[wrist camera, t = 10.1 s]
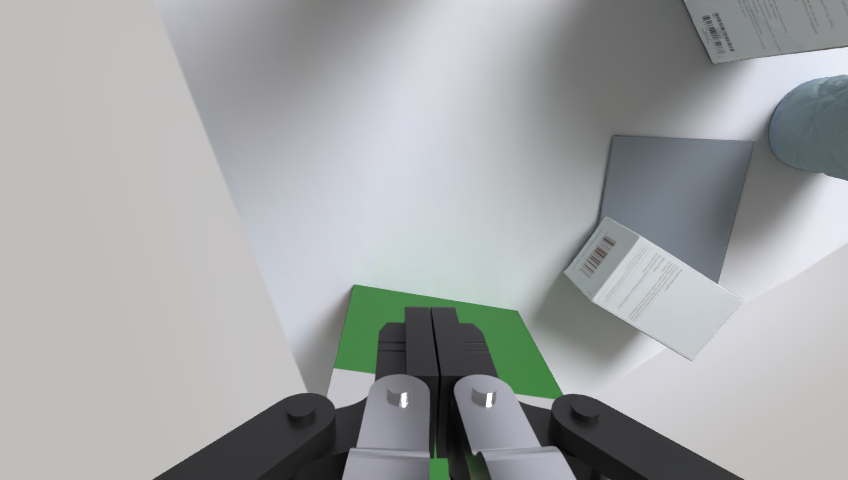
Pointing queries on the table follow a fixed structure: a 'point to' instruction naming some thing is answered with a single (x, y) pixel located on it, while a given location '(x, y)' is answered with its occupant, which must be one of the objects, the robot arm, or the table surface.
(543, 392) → the hardback book
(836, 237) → the table surface
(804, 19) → the hard drive box
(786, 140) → the blue-grey plant pot
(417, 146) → the table surface
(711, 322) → the supplement box
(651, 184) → the mat
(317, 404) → the robot arm
